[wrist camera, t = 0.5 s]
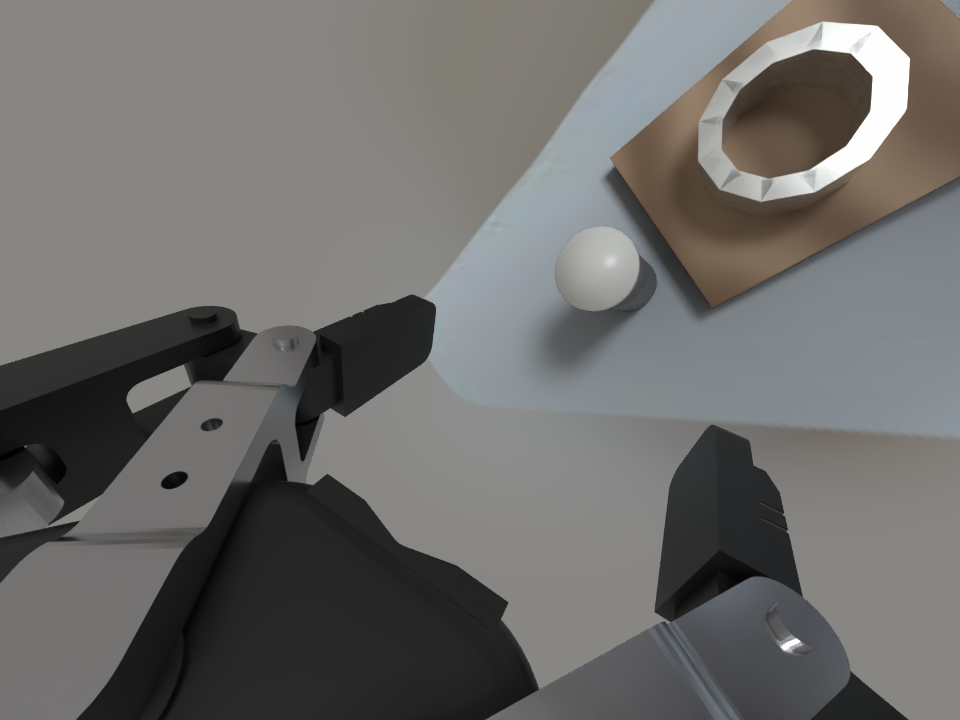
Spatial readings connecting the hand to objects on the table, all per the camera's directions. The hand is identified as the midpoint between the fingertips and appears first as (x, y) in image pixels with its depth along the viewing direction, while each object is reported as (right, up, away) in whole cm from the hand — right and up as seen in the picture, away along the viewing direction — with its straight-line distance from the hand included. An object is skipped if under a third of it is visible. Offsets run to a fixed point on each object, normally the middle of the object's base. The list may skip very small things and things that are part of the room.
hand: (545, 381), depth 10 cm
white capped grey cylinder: (+10, +7, +19) cm, 23 cm away
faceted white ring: (+17, +14, +12) cm, 25 cm away
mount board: (+18, +14, +14) cm, 27 cm away
